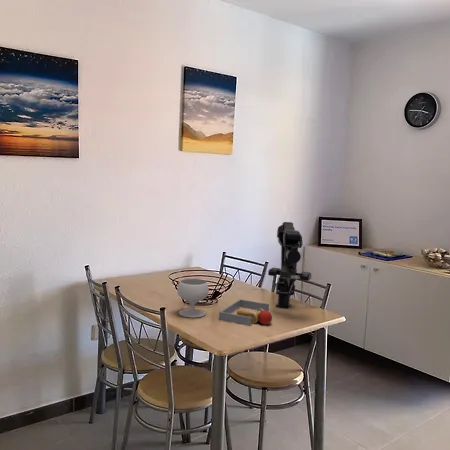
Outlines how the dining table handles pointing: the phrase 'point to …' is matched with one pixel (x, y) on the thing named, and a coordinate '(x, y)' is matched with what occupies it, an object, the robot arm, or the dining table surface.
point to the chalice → (192, 295)
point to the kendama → (257, 316)
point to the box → (227, 316)
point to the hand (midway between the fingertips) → (288, 292)
